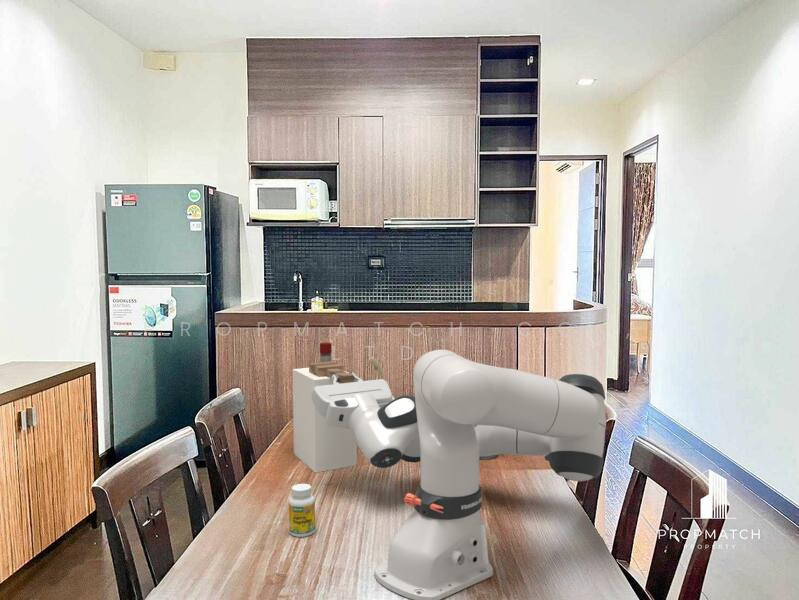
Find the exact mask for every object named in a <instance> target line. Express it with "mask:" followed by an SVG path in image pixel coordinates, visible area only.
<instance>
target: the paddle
mask: <svg viewBox="0 0 799 600" xmlns="http://www.w3.org/2000/svg"><path fill="white" fill-rule="evenodd" d="M308 368H309V372H310V373H312V374H314V375H316V376H318V377H325V376H326V377H328V378H331V379H332V375H334V374H338V376H339V377H340V380H339V383H350V382H354V375H352V374H349V373H350V372H348V373H347V371H346V372H344V371H345V370H344V365H343V364H340V363H337V362H335V361H331V362H311V363H308Z"/></svg>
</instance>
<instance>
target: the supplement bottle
mask: <svg viewBox="0 0 799 600" xmlns="http://www.w3.org/2000/svg"><path fill="white" fill-rule="evenodd" d="M315 499H316V498H315V497H314V495H312V486H311V485H310V484H308V483H298V484H294V485H293V486H291V496H290V497H289V499H288V521H289V522H288V527H289V528H288V529H289V530H288V531H289V534H290V535H291V536H294V537H297V538H304V537H308V536H311V535H313V534H314V533H315V531H316V501H315Z"/></svg>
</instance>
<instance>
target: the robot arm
mask: <svg viewBox="0 0 799 600" xmlns="http://www.w3.org/2000/svg"><path fill="white" fill-rule="evenodd" d="M348 373H349V374H352V375H354V382H350V383H341V384H339V380H340V377H339V376H338V374H334V375H332V382H333V384H332V385H323V386H316V387H315V388H314V389H313V392H312V401H313V403H314V405H315V407H316V409H317V410H318V412H319V413H320V414H321V415H322V416H323V417H326V420H325V422H326V424H327V425H328V426H333V427H341V428H346V429H350V430H351V431H352V432H353V433H354V434H355V438H356V442H357V446H358V448H359V450H360V451H361V453H362V455H363V456H364V458H365V459H366V460H367V462H368V463H369V464H371V465H372V466H374V467H375V468H379V469H388V468H390V467H394V466H395V465H397V464H398V463H399V462H400V461H401V460H402V461H404V462H407V463H420V465H419V466H420V467H419V469H420V473H419V474H420V477H419V478H420V479H419V480H420V482H419V483H418V486H417V488H416V489H417V490H416V493H415V495H414V494H412V493H410V492H407V493H406V494H405V497H404V503H405V505H407V506H411V507H413V509H412V510H411V512H410V514H409V515H408V516H407V518H405V520H404V522H403V523H402V524H401V526H400V528H399V529H398V530H396V531H397V532H396V533H395V534H394V535H393V537H392V539H391V540H390V541H389V542H390V543H389V546H388V553H387V559H385V560H384V561H383V562H382V563H380V564H379V565H378V566H377V567H375V569H374V572H373V573H374V575H373V576H374V577H375V579H376V580H377V582H379V583H380V585H382V586H383V587H385V588H386V589H388V590H390V591H392V592H394V593H395V594H398V595H400V596H403V597H405V598H407V599H409V600H442V599H444V598H446V597H449V596H451V595H454V594H455V593H457V592H460V591H462V590H464V589H466V588H468V587H470V586H473V585H475V584H477V583H480V582H482V581H484V580H486V579H488V578H490V577H491V578H492V577H493V576H494V569H493V566H492V564H491V563H490V561H489V556H488V555H489V549H488V540H487V529H486V525H485V523H484V520H483V517H482V513H481V509H482V505H483V493H482V486H481V484H480V460H479V458H486V457H490V456H492V455H497V454H498V455H518V456H532V457H533V456H537V457H538V456H539V457H540V456H544V460H545V461H547V462H548V463H549V466H550V468H551V470H553V471H554V473H555V474H556V475H558V476H560V477H561V478H564V479H567V480H569V481H574V482H585V481H590V480H594V479H596V478H597V477H598V476H600V475H601V473H602V470H603V465H604V460H605V459H604V458H603V456H604V455H603V454H604V450H605V448H604V447H605V440H606V429H607V418H606V415H607V414H606V407H605V406H606V405H605V400H606V393H605V388H604V385H603V384H602V383H601V382H600V381H599V380H598V379H597V378H596V377H594V376H592V375H587V374H583V373H572V374H571V373H569V374H566V375H563V376H561V378H559V379H556V378H551V377H548V376H544V375H539V374H536V373H535V374H534V373H531V372H528V371H527V372H526V371H523V370H520V369H516V368H507V367H506V368H505V367H501V366H496V365H495V366H493V365H490V364H489V365H488V364H484V363H480V362H476V361H473V360H471V359H468V358H466V357H463V356H462V355H459V354H457V353H455V352H454V351H452V350H448V349H436V350H435V349H434V350H431V351H428V352H425V353H423V354H422V355H421V356H420V357H419V358H418V359H417V361H416V362H415V363H414V367H413V372H412V378H413V379H412V380H413V386H414V387H413V388H414V395H410V394H405V395H401V396H399V397H396V398H395V397H394V396H393V394H392V391H391V388H390V386H389V384H388V381H386V380H385V379H382V378H380V379H371V380H369V379H368V380H363V379H362V378H360V377H358V376H357V375H356V374H355V372H348ZM474 425H477V426H476V427H475V426H474Z"/></svg>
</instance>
